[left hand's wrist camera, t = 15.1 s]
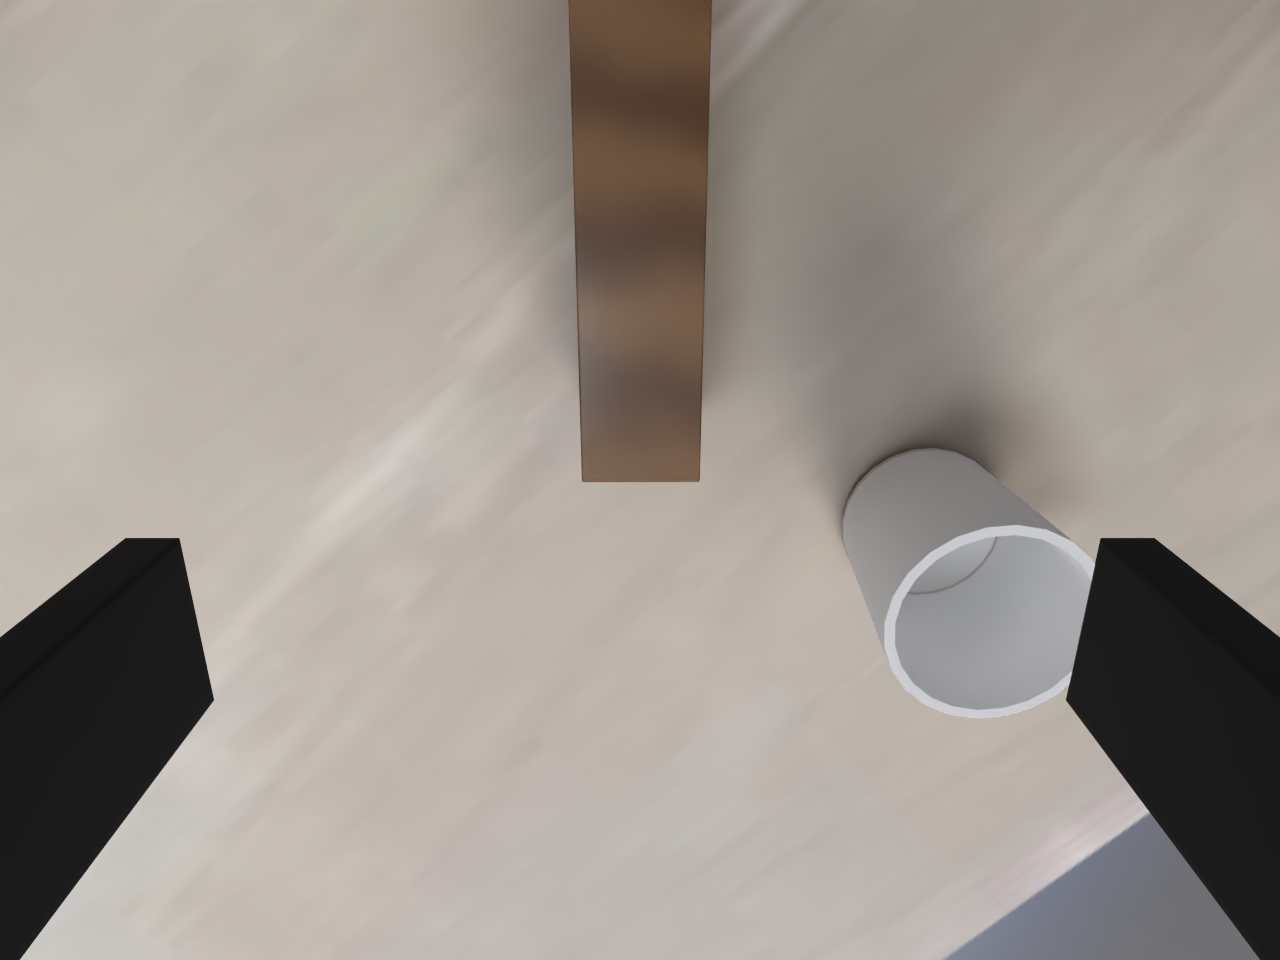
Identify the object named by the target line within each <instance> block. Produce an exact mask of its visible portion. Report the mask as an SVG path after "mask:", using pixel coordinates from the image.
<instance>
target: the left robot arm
mask: <svg viewBox="0 0 1280 960" xmlns="http://www.w3.org/2000/svg"><path fill="white" fill-rule="evenodd" d="M213 701H214V698H213V693H212V689H211V684H210V679H209V674H208V670H207V665H206V660H205V656H204V651H203V646H202V642H201V637H200V632H199V628H198V623H197V618H196V614H195V609H194V604H193V600H192V595H191V590H190V586H189V581H188V576H187V572H186V567H185V562H184V558H183V553H182V548H181V544H180V539H179V538H125V539H124V540H123V541H121V542H120V543H119V544H118V545H116V546H115V547H114V548H113V549H111V550H110V551H109V552H107V553H106V554H105V555H104V556H102V557H101V558H100V559H99V560H97V561H96V562H95V563H94V564H92V565H91V566H90V567H89V568H87V569H86V570H85V571H83V572H82V573H81V574H80V575H78V576H77V577H76V578H75V579H73V580H72V581H71V582H70V583H68V584H67V585H66V586H65V587H63V588H62V589H61V590H59V591H58V592H57V593H56V594H54V595H53V596H52V597H51V598H49V599H48V600H47V601H46V602H44V603H43V604H42V605H41V606H39V607H38V608H37V609H35V610H34V611H33V612H32V613H30V614H29V615H28V616H27V617H25V618H24V619H23V620H22V621H20V622H19V623H18V624H17V625H15V626H14V627H13V628H11V629H10V630H9V631H8V632H6V633H5V634H4V635H3V636H1V637H0V960H20V959H21V957H22V956H23V955H24V953H25V952H26V951H27V949H28V948H29V947H30V945H31V944H32V943H33V941H34V940H35V939H36V937H37V936H38V935H39V933H40V932H41V931H42V929H43V928H44V927H45V925H46V924H47V923H48V921H49V920H50V919H51V917H52V916H53V915H54V913H55V912H56V911H57V909H58V908H59V907H60V905H61V904H62V903H63V901H64V900H65V899H66V897H67V896H68V895H69V893H70V892H71V891H72V889H73V888H74V887H75V885H76V884H77V882H78V881H79V880H80V878H81V877H82V876H83V874H84V873H85V872H86V870H87V869H88V868H89V866H90V865H91V864H92V862H93V861H94V860H95V858H96V857H97V856H98V854H99V853H100V852H101V850H102V849H103V848H104V846H105V845H106V844H107V842H108V841H109V840H110V838H111V837H112V836H113V834H114V833H115V832H116V830H117V829H118V828H119V826H120V825H121V824H122V822H123V821H124V820H125V818H126V817H127V816H128V814H129V813H130V812H131V810H132V809H133V808H134V806H135V805H136V804H137V802H138V801H139V800H140V798H141V797H142V796H143V794H144V793H145V792H146V790H147V789H148V788H149V786H150V785H151V784H152V782H153V781H154V780H155V778H156V777H157V776H158V774H159V773H160V772H161V770H162V769H163V768H164V766H165V765H166V764H167V762H168V761H169V760H170V758H171V757H172V756H173V754H174V753H175V752H176V750H177V749H178V748H179V746H180V745H181V744H182V742H183V741H184V740H185V738H186V737H187V736H188V734H189V733H190V732H191V730H192V729H193V727H194V726H195V725H196V723H197V722H198V721H199V719H200V718H201V717H202V715H203V714H204V713H205V711H206V710H207V709H208V707H209V706H210V705H211V703H212V702H213ZM1066 701H1067V702H1068V703H1069V705H1070V706H1071V707H1072V709H1073V710H1074V711H1075V713H1076V714H1077V715H1078V717H1079V718H1080V719H1081V721H1082V722H1083V723H1084V725H1085V726H1086V727H1087V729H1088V730H1089V732H1090V733H1091V734H1092V736H1093V737H1094V738H1095V740H1096V741H1097V742H1098V744H1099V745H1100V746H1101V748H1102V749H1103V750H1104V752H1105V753H1106V754H1107V756H1108V757H1109V758H1110V760H1111V761H1112V762H1113V764H1114V765H1115V766H1116V768H1117V769H1118V770H1119V772H1120V773H1121V774H1122V776H1123V777H1124V778H1125V780H1126V781H1127V782H1128V784H1129V785H1130V786H1131V788H1132V789H1133V790H1134V792H1135V793H1136V794H1137V796H1138V797H1139V798H1140V800H1141V801H1142V802H1143V804H1144V805H1145V806H1146V808H1147V809H1148V810H1149V812H1150V813H1151V814H1152V816H1153V817H1154V818H1155V820H1156V821H1157V822H1158V824H1159V825H1160V826H1161V828H1162V829H1163V830H1164V832H1165V833H1166V834H1167V836H1168V837H1169V838H1170V840H1171V841H1172V842H1173V844H1174V845H1175V846H1176V848H1177V849H1178V850H1179V852H1180V853H1181V854H1182V856H1183V857H1184V858H1185V860H1186V861H1187V862H1188V864H1189V865H1190V866H1191V868H1192V869H1193V870H1194V872H1195V873H1196V874H1197V876H1198V877H1199V878H1200V880H1201V881H1202V882H1203V884H1204V885H1205V886H1206V888H1207V889H1208V891H1209V892H1210V893H1211V894H1212V896H1213V897H1214V899H1215V900H1216V901H1217V902H1218V904H1219V905H1220V907H1221V908H1222V909H1223V911H1224V912H1225V913H1226V915H1227V916H1228V917H1229V919H1230V920H1231V921H1232V922H1233V924H1234V925H1235V927H1236V928H1237V929H1238V931H1239V932H1240V933H1241V935H1242V936H1243V937H1244V939H1245V940H1246V941H1247V943H1248V944H1249V945H1250V947H1251V948H1252V949H1253V951H1254V952H1255V953H1256V955H1257V956H1258V957H1259V959H1260V960H1280V637H1279V636H1277V635H1276V634H1275V633H1274V632H1272V631H1271V630H1270V629H1269V628H1267V627H1266V626H1265V625H1263V624H1262V623H1261V622H1260V621H1258V620H1257V619H1256V618H1255V617H1253V616H1252V615H1251V614H1250V613H1248V612H1247V611H1246V610H1245V609H1243V608H1242V607H1241V606H1239V605H1238V604H1237V603H1236V602H1234V601H1233V600H1232V599H1231V598H1229V597H1228V596H1227V595H1226V594H1224V593H1223V592H1222V591H1221V590H1219V589H1218V588H1217V587H1215V586H1214V585H1213V584H1212V583H1210V582H1209V581H1208V580H1207V579H1205V578H1204V577H1203V576H1202V575H1200V574H1199V573H1198V572H1197V571H1195V570H1194V569H1193V568H1191V567H1190V566H1189V565H1188V564H1186V563H1185V562H1184V561H1183V560H1181V559H1180V558H1179V557H1178V556H1176V555H1175V554H1174V553H1173V552H1171V551H1170V550H1169V549H1167V548H1166V547H1165V546H1164V545H1162V544H1161V543H1160V542H1159V541H1157V540H1156V539H1155V538H1101V539H1100V544H1099V548H1098V553H1097V558H1096V562H1095V567H1094V572H1093V576H1092V581H1091V586H1090V590H1089V595H1088V600H1087V604H1086V609H1085V614H1084V618H1083V623H1082V628H1081V632H1080V637H1079V642H1078V646H1077V651H1076V656H1075V660H1074V665H1073V670H1072V674H1071V679H1070V684H1069V689H1068V693H1067V698H1066Z"/></svg>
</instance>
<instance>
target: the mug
mask: <svg viewBox="0 0 1280 960" xmlns="http://www.w3.org/2000/svg"><path fill="white" fill-rule="evenodd" d="M842 540H843V543H844V546H845V549H846V553H847V556H848V558H849V561H850V563H851V566H852V568H853V571H854V574H855V576H856V579H857V582H858V584H859V587H860V590H861V592H862V595H863V598H864V600H865V603H866V606H867V608H868V611H869V614H870V616H871V619H872V621H873V624H874V627H875V629H876V632H877V635H878V637H879V640H880V643H881V645H882V648H883V651H884V653H885V656H886V659H887V661H888V664H889V666H890V668H891V670H892V672H893V673H894V675H895V676H896V677H897V679H898V680H899V682H900V683H901V685H902V686H903V687H904V689H905V690H906V691H907V692H909V693H910V694H911V695H913V696H914V697H915V698H916V699H918V700H919V701H920V702H922V703H923V704H924V705H926V706H929V707H931V708H934V709H936V710H939V711H941V712H943V713H946V714H948V715H955V716H962V717H968V718H989V717H1002V716H1007V715H1010V714H1013V713H1017V712H1020V711H1024V710H1027V709H1031V708H1033V707H1035V706H1037V705H1038V704H1040V703H1042V702H1044V701H1046V700H1048V699H1050V698H1052V697H1054V696H1056V695H1057V694H1058V693H1060V692H1061V691H1062V690H1063V689H1064V688H1066V687H1067V686H1068V685H1069V684H1070V679H1071V674H1072V670H1073V665H1074V660H1075V656H1076V651H1077V646H1078V642H1079V637H1080V632H1081V628H1082V623H1083V618H1084V614H1085V609H1086V604H1087V600H1088V595H1089V590H1090V586H1091V581H1092V576H1093V572H1094V567H1095V563H1094V562H1093V560H1092V558H1091V557H1090V556H1089V555H1088V554H1086V553H1085V552H1084V551H1083V550H1082V549H1081V548H1080V547H1079V546H1077V545H1076V544H1075V543H1074V542H1073V541H1072V540H1071V539H1070V538H1068V537H1067V536H1066V535H1065V534H1063V533H1062V532H1061V531H1060V530H1059V529H1057V528H1056V527H1055V526H1054V525H1052V524H1051V523H1050V522H1049V521H1048V520H1046V519H1045V518H1044V517H1043V516H1041V515H1040V514H1039V513H1038V512H1036V511H1035V510H1034V509H1033V508H1032V507H1030V506H1029V505H1028V504H1027V503H1025V502H1024V501H1023V500H1022V499H1020V498H1019V497H1018V496H1017V495H1016V494H1014V493H1013V492H1012V491H1011V490H1009V489H1008V488H1007V487H1006V486H1005V485H1003V484H1002V483H1001V482H1000V481H998V480H997V479H996V478H995V477H993V476H992V475H991V474H990V473H989V472H987V471H986V470H985V469H984V468H982V467H981V466H980V465H979V464H978V463H976V462H975V461H974V460H973V459H971V458H969V457H966V456H964V455H962V454H960V453H958V452H956V451H951V450H945V449H939V448H923V449H912V450H909V451H906V452H903V453H900V454H897V455H894V456H891V457H890V458H888V459H886V460H885V461H883V462H882V463H880V464H878V465H877V466H875V467H874V468H872V469H871V470H870V471H869V472H868V473H867V474H866V475H865V476H864V477H863V478H862V479H861V480H860V481H859V482H858V483H857V485H856V487H855V489H854V490H853V492H852V494H851V495H850V497H849V499H848V500H847V503H846V507H845V510H844V514H843V517H842Z"/></svg>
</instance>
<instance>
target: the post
mask: <svg viewBox="0 0 1280 960" xmlns="http://www.w3.org/2000/svg"><path fill="white" fill-rule="evenodd" d="M711 12H712V0H569V34H570V70H571V106H572V142H573V177H574V213H575V249H576V285H577V320H578V356H579V392H580V428H581V464H582V481H583V482H699V480H700V447H701V407H702V368H703V328H704V289H705V249H706V210H707V170H708V131H709V91H710V52H711Z"/></svg>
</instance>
